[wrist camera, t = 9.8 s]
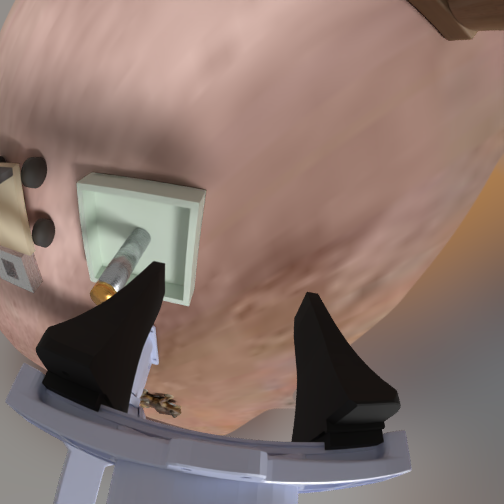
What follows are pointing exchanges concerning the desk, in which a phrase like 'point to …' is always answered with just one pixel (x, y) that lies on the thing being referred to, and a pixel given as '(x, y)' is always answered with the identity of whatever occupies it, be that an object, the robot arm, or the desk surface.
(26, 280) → the plate
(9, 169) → the ramp trolley
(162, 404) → the frog figurine
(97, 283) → the pin
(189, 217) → the tray
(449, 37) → the wooden block
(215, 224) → the desk surface
